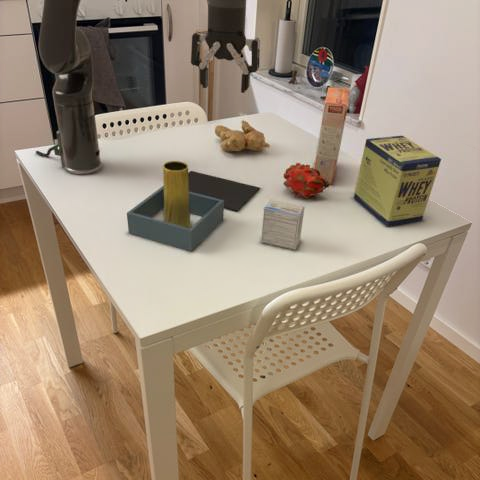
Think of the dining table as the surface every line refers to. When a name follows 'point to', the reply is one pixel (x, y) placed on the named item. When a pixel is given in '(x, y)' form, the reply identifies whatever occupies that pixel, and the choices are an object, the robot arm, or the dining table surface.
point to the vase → (176, 193)
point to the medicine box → (282, 224)
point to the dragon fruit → (304, 180)
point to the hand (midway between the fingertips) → (224, 89)
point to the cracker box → (331, 132)
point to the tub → (171, 233)
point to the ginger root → (241, 138)
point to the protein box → (395, 179)
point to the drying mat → (221, 189)
